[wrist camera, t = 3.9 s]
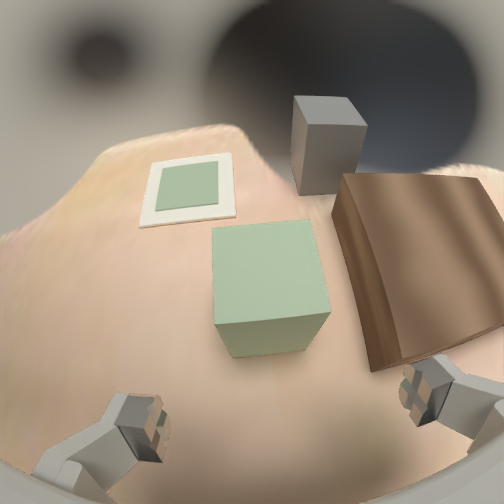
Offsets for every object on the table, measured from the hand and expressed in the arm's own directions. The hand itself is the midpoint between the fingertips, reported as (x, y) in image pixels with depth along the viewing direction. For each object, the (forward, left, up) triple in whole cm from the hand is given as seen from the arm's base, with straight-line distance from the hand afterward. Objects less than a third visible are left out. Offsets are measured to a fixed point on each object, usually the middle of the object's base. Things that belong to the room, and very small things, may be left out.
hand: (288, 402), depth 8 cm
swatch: (-6, +20, -10) cm, 23 cm away
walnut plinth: (+15, +8, -10) cm, 20 cm away
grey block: (+7, +20, -10) cm, 24 cm away
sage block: (0, +6, -10) cm, 12 cm away
